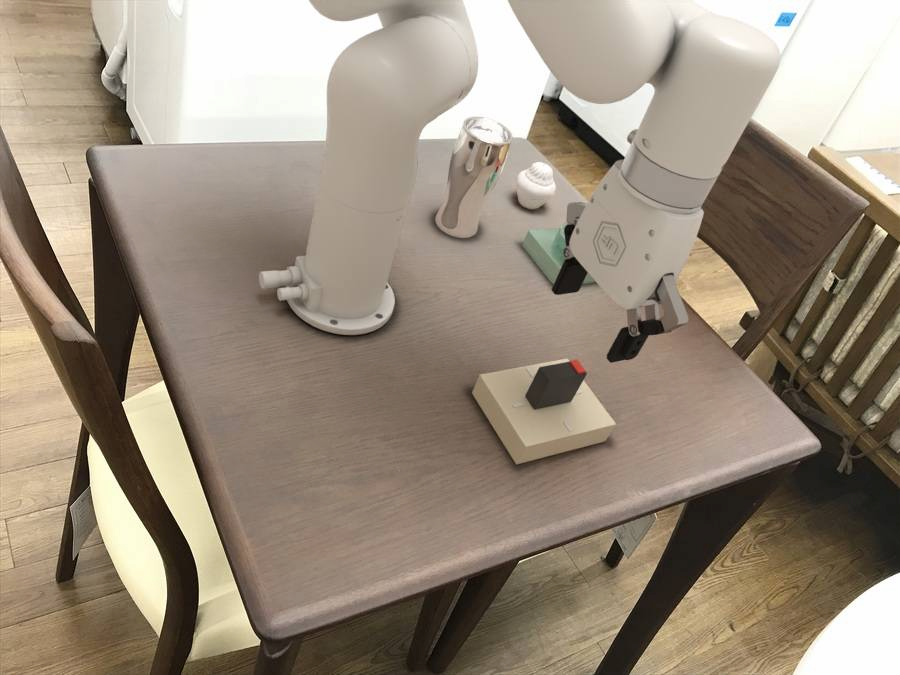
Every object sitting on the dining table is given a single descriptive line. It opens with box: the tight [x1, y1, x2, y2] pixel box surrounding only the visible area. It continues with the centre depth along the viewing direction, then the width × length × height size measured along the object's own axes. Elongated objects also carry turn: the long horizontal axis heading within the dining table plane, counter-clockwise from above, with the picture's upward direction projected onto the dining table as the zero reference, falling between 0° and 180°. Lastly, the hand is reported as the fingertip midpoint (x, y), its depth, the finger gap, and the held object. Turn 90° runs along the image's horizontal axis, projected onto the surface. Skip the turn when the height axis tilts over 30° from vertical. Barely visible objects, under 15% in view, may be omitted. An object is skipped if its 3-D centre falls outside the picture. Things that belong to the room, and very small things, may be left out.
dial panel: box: [471, 358, 617, 465], centre depth 83 cm, size 12×10×3 cm
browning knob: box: [525, 359, 588, 410], centre depth 80 cm, size 5×2×5 cm, turn 117°
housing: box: [521, 221, 597, 285], centre depth 107 cm, size 12×9×4 cm
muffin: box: [515, 161, 557, 210], centre depth 114 cm, size 6×6×7 cm
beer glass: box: [434, 116, 513, 239], centre depth 102 cm, size 7×7×15 cm
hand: (591, 323), depth 75 cm, fingers open, 9 cm apart
